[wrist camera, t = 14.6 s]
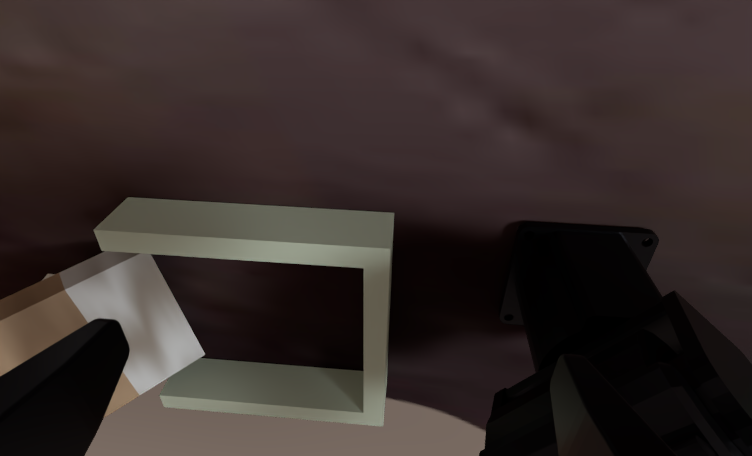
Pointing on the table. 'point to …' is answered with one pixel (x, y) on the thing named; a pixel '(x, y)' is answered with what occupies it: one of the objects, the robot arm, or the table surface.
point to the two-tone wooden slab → (109, 301)
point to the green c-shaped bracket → (282, 245)
